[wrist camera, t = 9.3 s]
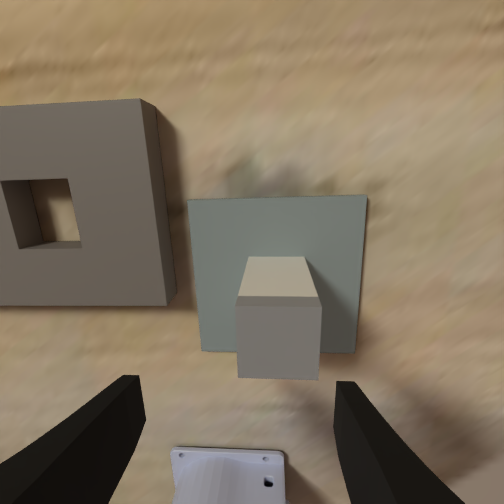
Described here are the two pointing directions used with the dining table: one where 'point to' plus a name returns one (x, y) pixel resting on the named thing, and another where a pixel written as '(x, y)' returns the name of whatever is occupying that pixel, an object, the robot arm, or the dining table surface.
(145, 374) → the dining table surface
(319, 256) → the mat
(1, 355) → the dining table surface
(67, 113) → the grey slotted plate
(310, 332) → the plug
